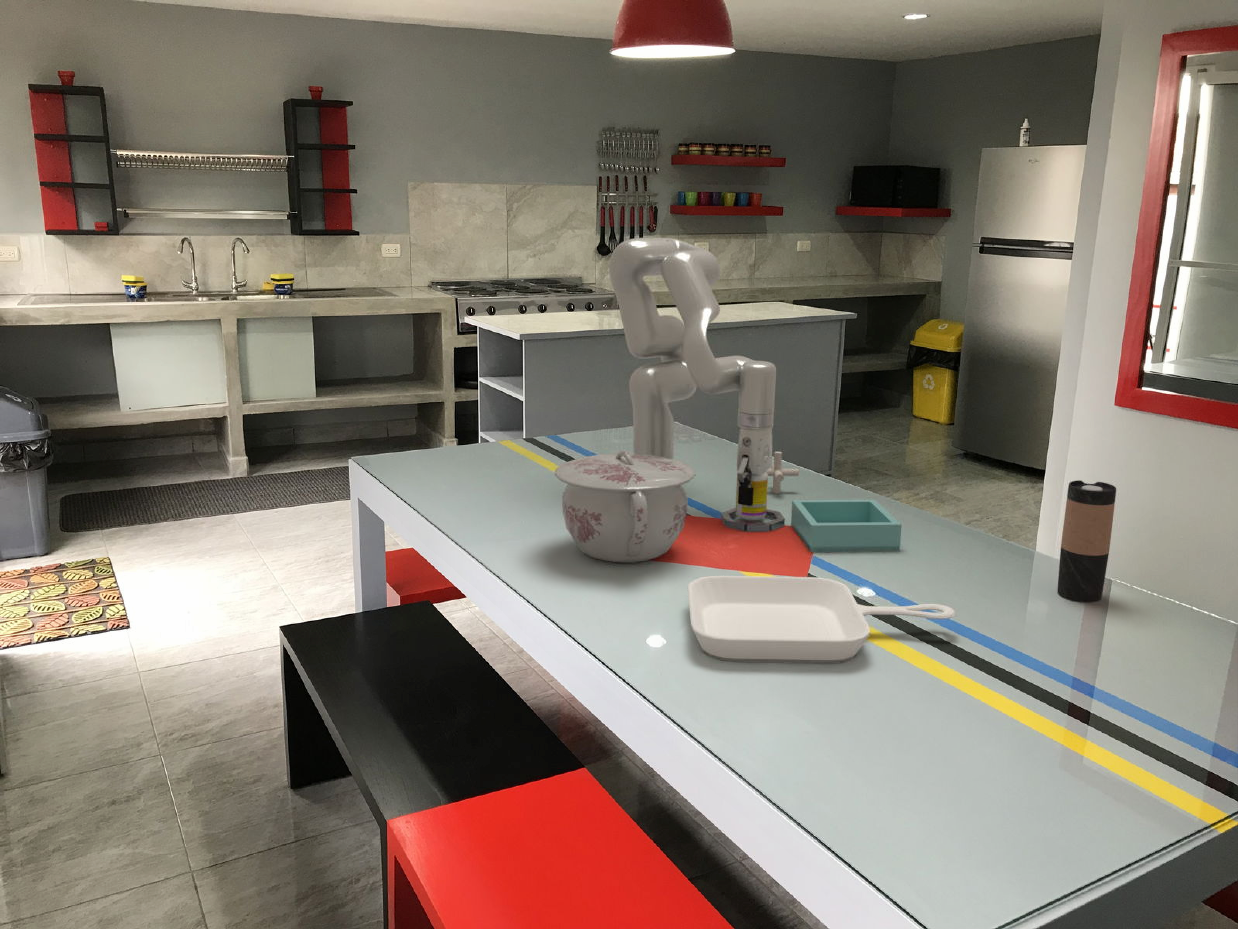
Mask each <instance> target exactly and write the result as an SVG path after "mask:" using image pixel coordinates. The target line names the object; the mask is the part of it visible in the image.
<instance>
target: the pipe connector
mask: <svg viewBox="0 0 1238 929" xmlns="http://www.w3.org/2000/svg"><path fill="white" fill-rule="evenodd" d="M782 454H783V452H782V451H774V453H773V463H772V465H771V467H770V468H769V469H768V470H766V472H767V474H768V477H772V479H773V480H772V494H774V493H775V494H776V495H777V493H778V494H779V495H780V494H781V482H783V481H784V479H785V477H799V474H800V473H799V472H800V471H799V468H782V462H783V461H782V459H783V455H782Z"/></svg>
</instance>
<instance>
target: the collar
mask: <svg viewBox="0 0 1238 929" xmlns="http://www.w3.org/2000/svg"><path fill="white" fill-rule="evenodd" d="M735 510H736V507H734V508H731V509H728V510H725V511H722V512H721V515H720V516H721V517H720V518H721V522H722V524H723V526H724V527H726V528H729V529H733V530H736V531H741V532H747V533H751V532H753V533H755V532H756V533H757V532H760V533H761V532H767V533H769V532H773V531H775V530H778V529H780V528H783V527H785V521H786V518H785V517H784V515H783V514H782V513H781V512H780V511H777V510H773V509H769V508H766V516H765V517H764V518H766V519H770V521H768V522H746V521H742V520H737V519H734V518H739V517H738V516H737V515H736V513H735Z"/></svg>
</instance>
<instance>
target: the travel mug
mask: <svg viewBox="0 0 1238 929" xmlns="http://www.w3.org/2000/svg"><path fill="white" fill-rule="evenodd" d="M1116 495H1117V487H1116V486H1115V485H1113V484H1111V483H1107V482H1102V481H1096V482H1095V483H1087V482H1086V483H1085V482H1084V481H1083V480H1079V479H1078V480H1072V481H1069V483H1068V488H1067V495H1066V496H1067V497H1066V503H1065V510H1064V511H1065V512H1064V518H1063V527H1062V534H1061V542H1060V554H1059V565H1058V568H1059V569H1058V578H1057V594H1058V595H1059V596H1060V597H1061V598H1063V599H1066V600H1070V601H1072V602H1079V603H1088V604H1089V603H1097V602H1100V601H1101V600H1102V596H1103V591H1104V585H1105V580H1106V574H1107V567H1108V561H1109V554H1110V548H1111V541H1112V540H1111V538H1112V530H1113V523H1114V522H1113V521H1114V514H1115V513H1114V512H1115V504H1116Z"/></svg>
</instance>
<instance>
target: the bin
mask: <svg viewBox="0 0 1238 929" xmlns="http://www.w3.org/2000/svg"><path fill="white" fill-rule="evenodd" d="M790 518H791V520H790V526H791V527H792V528H793V530H794V531H795V533H796V534H797V535H798V536H799V538H800V540H801V541H802V542H803V544H804V545H805V547H806V548H807V549H808V551H809V552H810V553H823V552H824V553H828V552H829V553H832V552H833V553H836V552H839V553H840V552H900V549H901V540H902V538H901V537H902V526H903V525H902V523H901V522H900V521H899V520H897V519H896V518H895V517H894V516H893V515H892V514H891V513H890V512H889V511H888V510H887V509H886V508H885V507H884V506H882V505H881V504H880V503H879V502H878V501H877V500H876V499H811V500H810V499H808V500H807V499H805V500H804V499H803V500H802V499H800V500H791V516H790Z"/></svg>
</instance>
